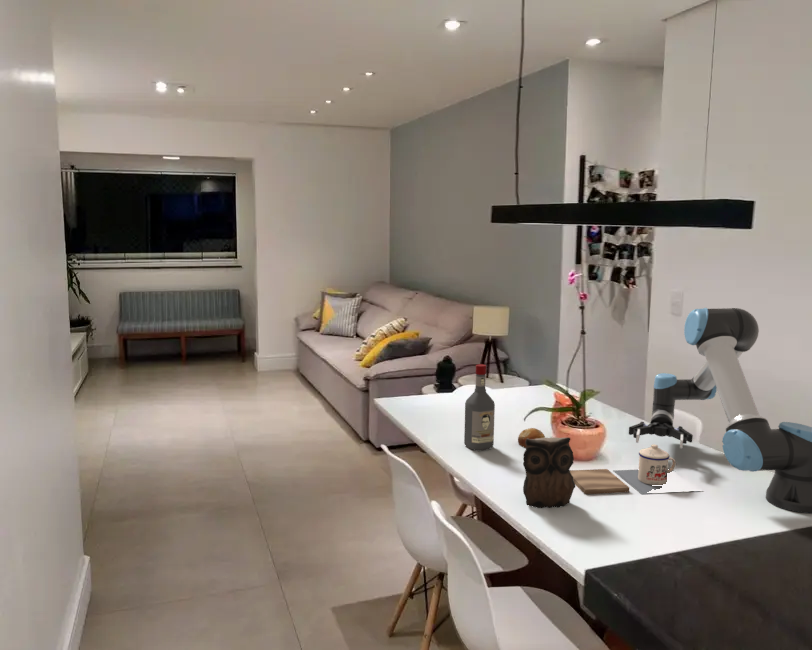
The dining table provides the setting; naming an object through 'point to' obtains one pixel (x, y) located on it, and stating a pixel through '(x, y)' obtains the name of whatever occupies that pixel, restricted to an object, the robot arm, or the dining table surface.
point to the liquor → (479, 415)
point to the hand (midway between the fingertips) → (659, 441)
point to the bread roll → (529, 435)
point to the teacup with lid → (654, 465)
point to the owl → (548, 472)
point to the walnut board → (598, 481)
